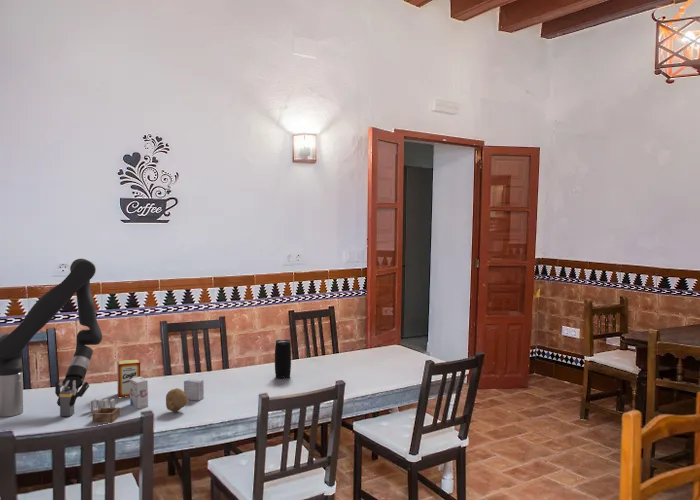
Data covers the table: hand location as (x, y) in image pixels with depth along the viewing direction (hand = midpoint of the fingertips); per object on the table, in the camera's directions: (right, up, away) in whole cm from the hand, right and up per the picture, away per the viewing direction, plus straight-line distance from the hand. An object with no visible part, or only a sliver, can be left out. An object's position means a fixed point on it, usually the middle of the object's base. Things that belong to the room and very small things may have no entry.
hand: (65, 405), depth 227 cm
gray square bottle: (0, -5, +2) cm, 5 cm away
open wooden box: (+18, -5, -2) cm, 19 cm away
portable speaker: (+82, -4, +65) cm, 105 cm away
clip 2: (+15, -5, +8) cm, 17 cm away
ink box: (+24, -5, +16) cm, 30 cm away
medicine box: (+46, -5, +26) cm, 53 cm away
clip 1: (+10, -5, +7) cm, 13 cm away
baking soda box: (+14, -4, +32) cm, 35 cm away
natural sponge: (+44, -5, +8) cm, 45 cm away
